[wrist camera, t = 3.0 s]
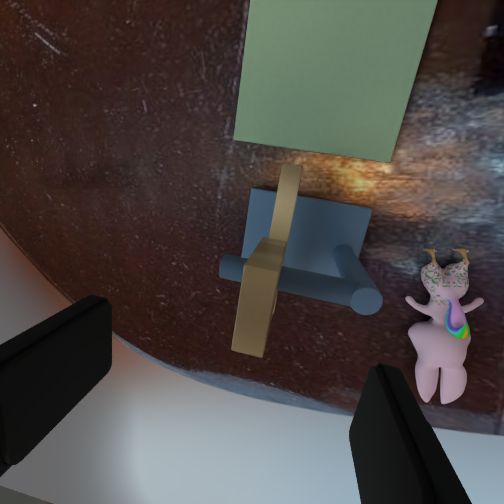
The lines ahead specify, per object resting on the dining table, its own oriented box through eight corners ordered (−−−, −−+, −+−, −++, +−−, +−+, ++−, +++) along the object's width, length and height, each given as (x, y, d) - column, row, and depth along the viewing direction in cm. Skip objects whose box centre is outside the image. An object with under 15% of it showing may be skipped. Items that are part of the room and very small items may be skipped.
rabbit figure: (399, 246, 26) (393, 388, 28) (425, 253, 20) (417, 433, 22) (471, 245, 25) (461, 394, 27) (521, 253, 19) (505, 443, 21)
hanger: (283, 163, 22) (261, 152, 10) (303, 166, 22) (302, 158, 10) (258, 303, 26) (221, 407, 14) (274, 307, 26) (251, 416, 14)
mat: (270, -158, 19) (270, -165, 19) (482, -159, 17) (486, -166, 17) (234, 140, 25) (233, 139, 25) (388, 163, 23) (390, 162, 23)
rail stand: (253, 187, 26) (219, 196, 15) (369, 207, 25) (419, 231, 14) (240, 272, 29) (204, 329, 18) (344, 294, 27) (371, 370, 17)
